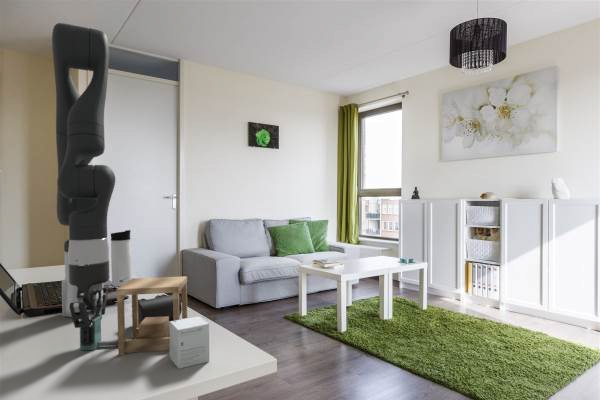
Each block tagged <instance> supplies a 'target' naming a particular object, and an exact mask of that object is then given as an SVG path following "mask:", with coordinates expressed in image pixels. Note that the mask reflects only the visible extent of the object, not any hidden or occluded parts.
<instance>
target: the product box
mask: <svg viewBox="0 0 600 400" xmlns="http://www.w3.org/2000/svg"><path fill="white" fill-rule="evenodd" d="M209 326H210V325H209V322H208V321H206V320H205V319H204V318H202V317H200V316H194V317H188V318H185V319H182V318H181V319H180V320H175V321H170V322H169V329H170V350H169V359H170V360H171V362H173V363H174V365H175V367H176V368H177V369H178V370H179V369H182V368H183V369H185V368H187V367H192V366H196V365H200V364H204V363H208V362H209V361H210V327H209Z"/></svg>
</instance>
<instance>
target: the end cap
mask: <svg viewBox="0 0 600 400" xmlns="http://www.w3.org/2000/svg"><path fill="white" fill-rule="evenodd" d="M179 315H180V316H182V300H181V299H180V298H179ZM167 316H169V322H170V321H174V318H173V293H171V294H168V295H167V294H166V293H161V295H160V294H159V295H158V294H157V295H156V296H154V297H153V298H150V299H146V298H140V299H138V325H139V324H140V323H141V322H142V321H143V320H144V319H145V318H146V317H167Z"/></svg>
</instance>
